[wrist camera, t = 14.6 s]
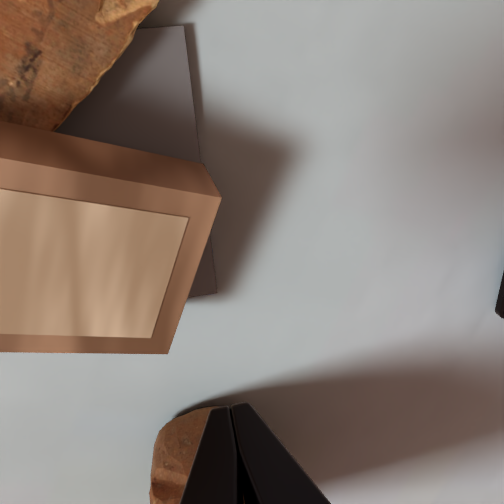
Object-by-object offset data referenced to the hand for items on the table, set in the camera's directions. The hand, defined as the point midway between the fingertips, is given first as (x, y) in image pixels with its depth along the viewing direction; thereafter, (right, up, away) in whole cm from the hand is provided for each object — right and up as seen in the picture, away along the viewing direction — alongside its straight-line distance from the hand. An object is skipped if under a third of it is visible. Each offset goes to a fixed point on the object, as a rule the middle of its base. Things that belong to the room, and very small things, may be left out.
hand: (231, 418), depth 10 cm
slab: (-2, +3, +10) cm, 10 cm away
